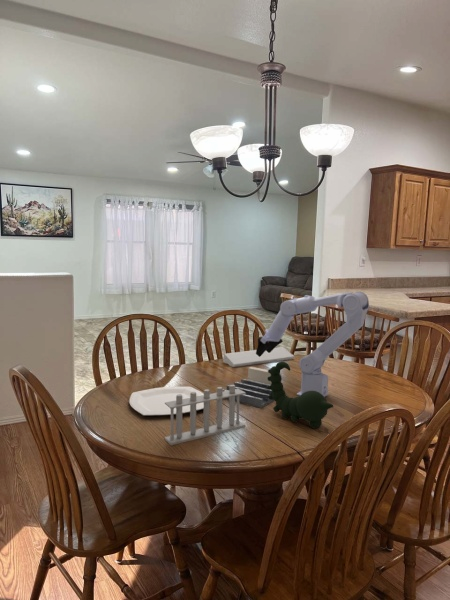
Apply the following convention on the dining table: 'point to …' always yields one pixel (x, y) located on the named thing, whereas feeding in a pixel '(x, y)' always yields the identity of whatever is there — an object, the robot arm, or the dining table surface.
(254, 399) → the grey grooved block
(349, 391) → the dining table surface
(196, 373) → the dining table surface
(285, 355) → the decorative molding
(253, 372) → the clay strip
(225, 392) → the test tube rack
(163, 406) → the plate
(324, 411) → the toy figurine
